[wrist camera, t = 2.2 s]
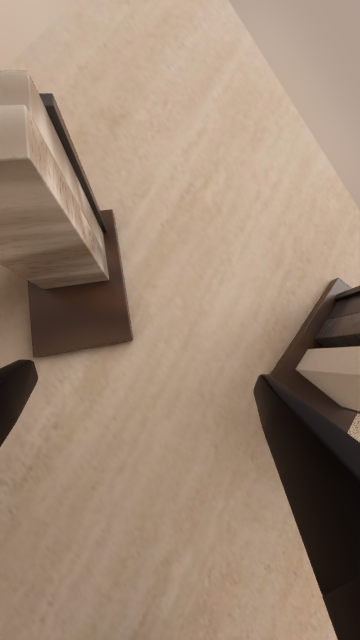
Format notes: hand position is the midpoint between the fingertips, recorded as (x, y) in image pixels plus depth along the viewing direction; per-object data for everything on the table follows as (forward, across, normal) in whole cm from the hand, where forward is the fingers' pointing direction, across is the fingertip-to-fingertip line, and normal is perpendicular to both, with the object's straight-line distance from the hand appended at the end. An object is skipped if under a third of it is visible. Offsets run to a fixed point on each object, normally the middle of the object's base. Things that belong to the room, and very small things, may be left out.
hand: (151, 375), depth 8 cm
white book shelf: (+17, +10, +2) cm, 20 cm away
